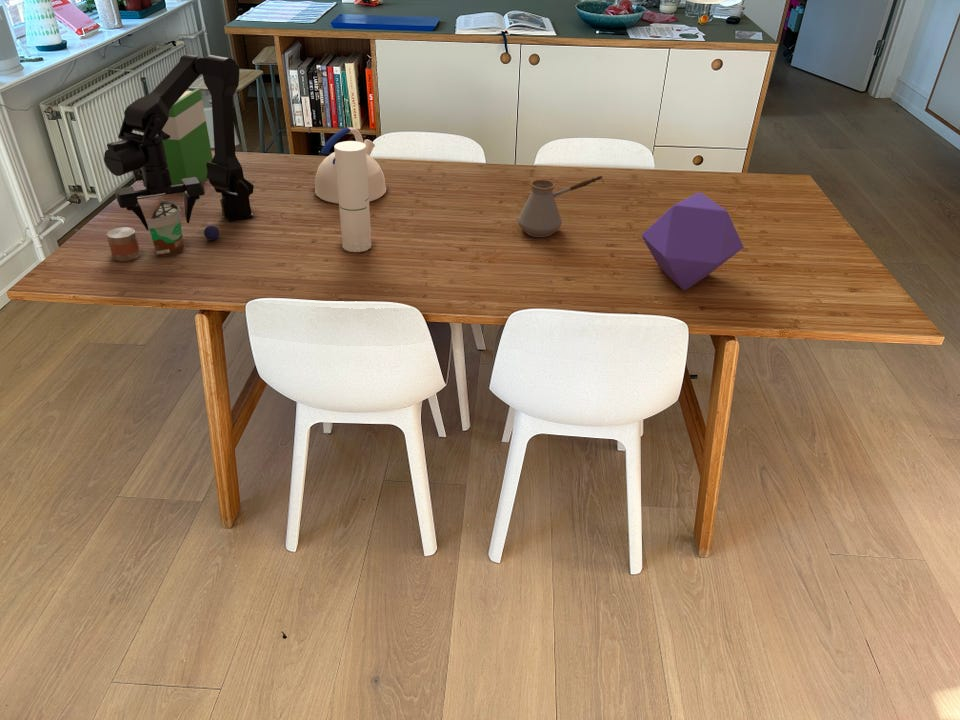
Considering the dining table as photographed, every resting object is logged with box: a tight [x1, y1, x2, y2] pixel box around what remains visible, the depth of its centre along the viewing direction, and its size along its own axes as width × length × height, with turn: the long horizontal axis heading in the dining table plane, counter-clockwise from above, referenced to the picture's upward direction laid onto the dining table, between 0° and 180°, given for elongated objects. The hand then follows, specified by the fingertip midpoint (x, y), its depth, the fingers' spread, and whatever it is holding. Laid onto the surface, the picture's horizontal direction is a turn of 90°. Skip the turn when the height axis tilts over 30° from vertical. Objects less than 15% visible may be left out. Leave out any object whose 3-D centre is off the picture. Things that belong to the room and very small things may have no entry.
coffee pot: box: [517, 175, 605, 238], centre depth 190 cm, size 21×12×15 cm, turn 94°
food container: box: [146, 199, 185, 258], centre depth 177 cm, size 12×6×10 cm, turn 6°
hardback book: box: [162, 88, 214, 185], centre depth 209 cm, size 18×7×24 cm, turn 174°
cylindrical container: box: [333, 140, 372, 253], centre depth 177 cm, size 7×7×25 cm
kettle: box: [314, 127, 387, 205], centre depth 208 cm, size 20×21×18 cm
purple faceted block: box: [641, 191, 744, 291], centre depth 170 cm, size 22×20×20 cm
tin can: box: [106, 226, 141, 262], centre depth 174 cm, size 6×6×6 cm
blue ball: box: [203, 225, 220, 241], centre depth 183 cm, size 4×4×4 cm
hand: (167, 226), depth 177 cm, fingers open, 9 cm apart
